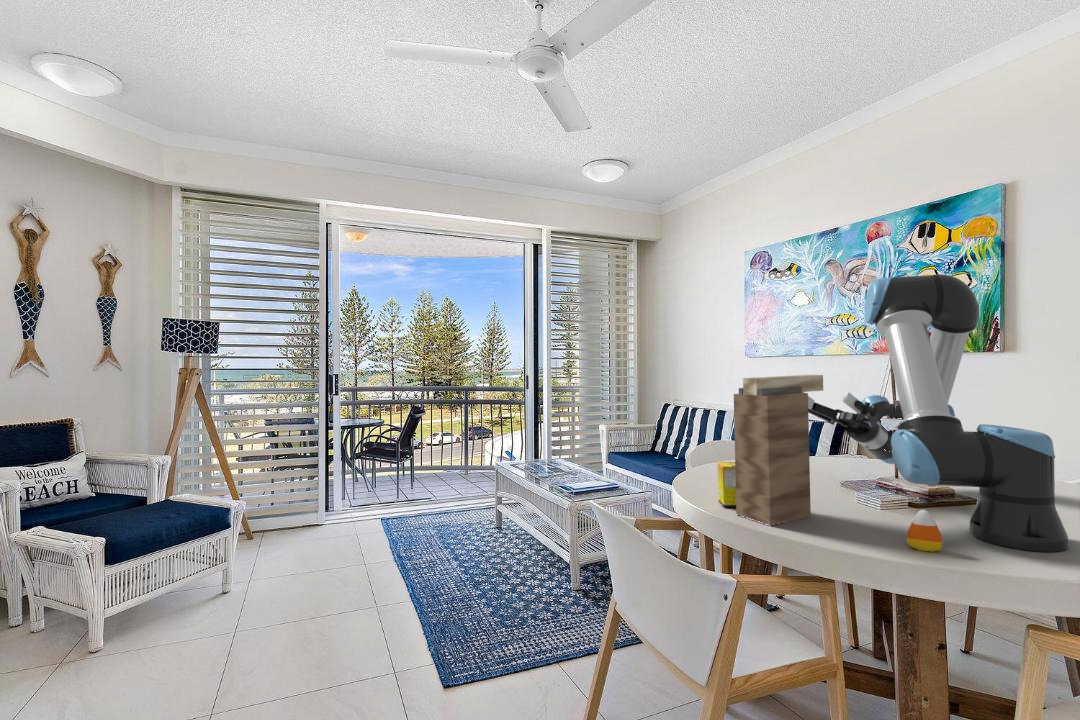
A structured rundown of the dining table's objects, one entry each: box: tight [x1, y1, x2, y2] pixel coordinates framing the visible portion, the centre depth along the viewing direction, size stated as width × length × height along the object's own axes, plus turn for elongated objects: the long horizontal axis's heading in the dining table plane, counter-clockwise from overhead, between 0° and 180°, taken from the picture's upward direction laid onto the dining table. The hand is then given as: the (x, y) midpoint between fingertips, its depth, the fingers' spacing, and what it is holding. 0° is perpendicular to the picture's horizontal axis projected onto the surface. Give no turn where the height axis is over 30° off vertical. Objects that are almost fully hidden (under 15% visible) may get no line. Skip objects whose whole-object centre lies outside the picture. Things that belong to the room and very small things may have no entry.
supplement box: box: [717, 461, 736, 508], centre depth 138 cm, size 6×6×11 cm
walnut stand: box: [733, 387, 812, 525], centre depth 128 cm, size 10×14×32 cm
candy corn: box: [906, 509, 944, 553], centre depth 104 cm, size 6×3×8 cm, turn 63°
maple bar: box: [742, 374, 824, 395], centre depth 130 cm, size 4×24×4 cm, turn 116°
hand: (820, 395), depth 137 cm, fingers open, 13 cm apart
